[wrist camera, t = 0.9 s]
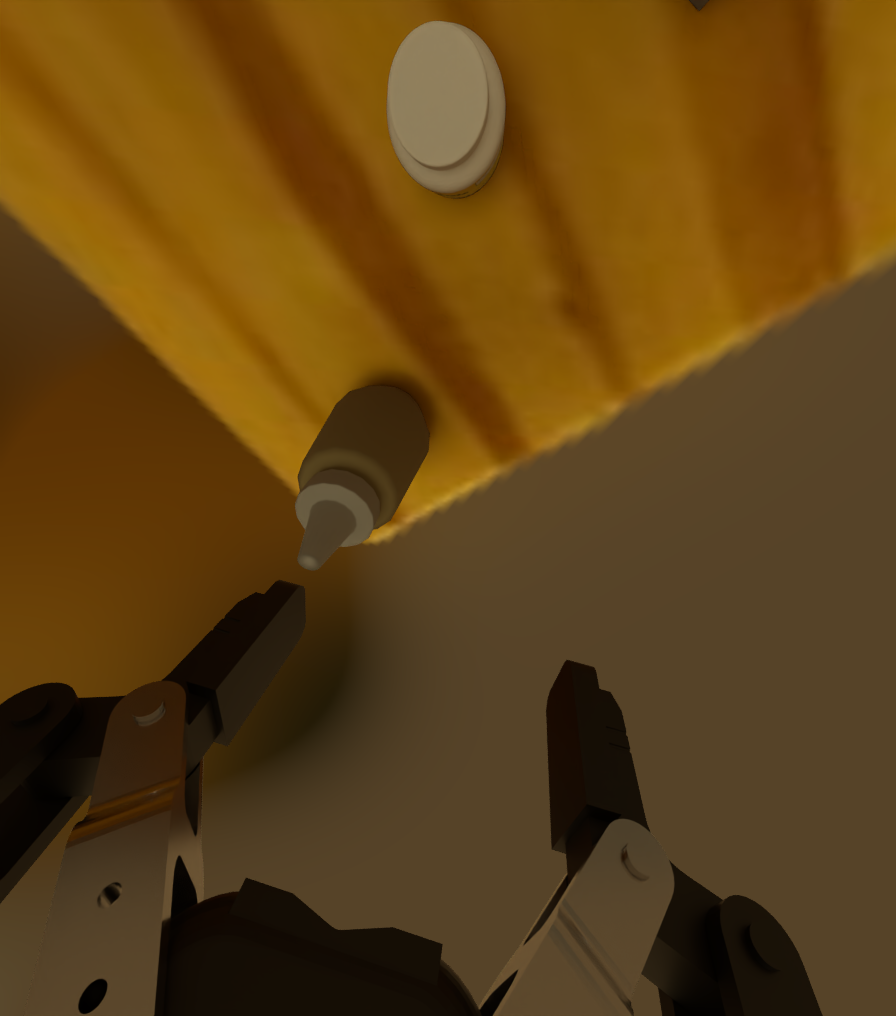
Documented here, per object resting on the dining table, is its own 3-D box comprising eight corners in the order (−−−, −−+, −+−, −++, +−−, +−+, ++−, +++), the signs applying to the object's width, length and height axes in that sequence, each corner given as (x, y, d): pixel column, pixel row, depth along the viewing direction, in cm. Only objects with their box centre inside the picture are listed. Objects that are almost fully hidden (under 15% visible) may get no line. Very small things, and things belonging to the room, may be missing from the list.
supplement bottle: (397, 163, 24) (346, 130, 16) (442, 47, 21) (408, -66, 13) (470, 220, 25) (458, 216, 17) (522, 119, 22) (537, 57, 14)
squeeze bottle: (378, 471, 37) (302, 627, 22) (326, 397, 33) (193, 529, 19) (452, 437, 34) (419, 592, 20) (404, 353, 30) (318, 467, 16)
